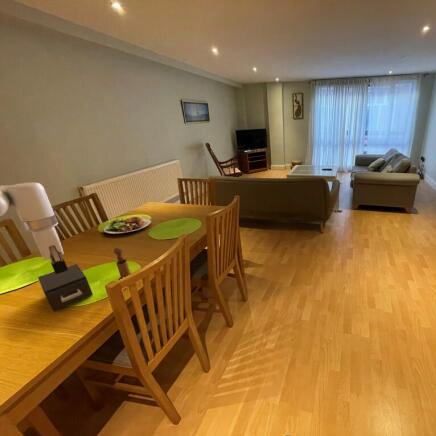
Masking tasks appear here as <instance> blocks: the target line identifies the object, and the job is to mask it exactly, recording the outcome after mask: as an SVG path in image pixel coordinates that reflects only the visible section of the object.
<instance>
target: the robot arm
mask: <svg viewBox="0 0 436 436" xmlns="http://www.w3.org/2000/svg"><path fill="white" fill-rule="evenodd" d="M12 208H14V209H15V211H16V213H17V215H18V217H19V220H20V222H21V224H22V226H23V229H24V231H25V232H31V235H32V239H33V241H34V243H35V245H36V246H37V249H38V251H39V253H40V255H41V257H42V259H43V260H44V261H47V260H49V259H50V264H51V267H52V269H53V272H54V271H55V273H56V274H59V273H62V272H65V271H67V270H68V268H67V267H68V266H67V264H66V261H65V259H64V257H63V255H64V254H65V252H64V249H63V245H62V243H61V240H60V237H59V235H58V231H57V230H56V227H57V225H59V222H58V218H57V217H56V214H55V212H54V209H53V207H52V203H51V201H50V200H49V198H48V195H47V192H46V189H45V187H44V185H42V183H40V182H35V181H33V182H32V181H31V182H22V183H16V184H15V183H14V184H8V185H7V184H6V185H5V184H4V185H0V217H2V216H4V215H5V214H6V213H7V212H8V210H9V209H12Z"/></svg>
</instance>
